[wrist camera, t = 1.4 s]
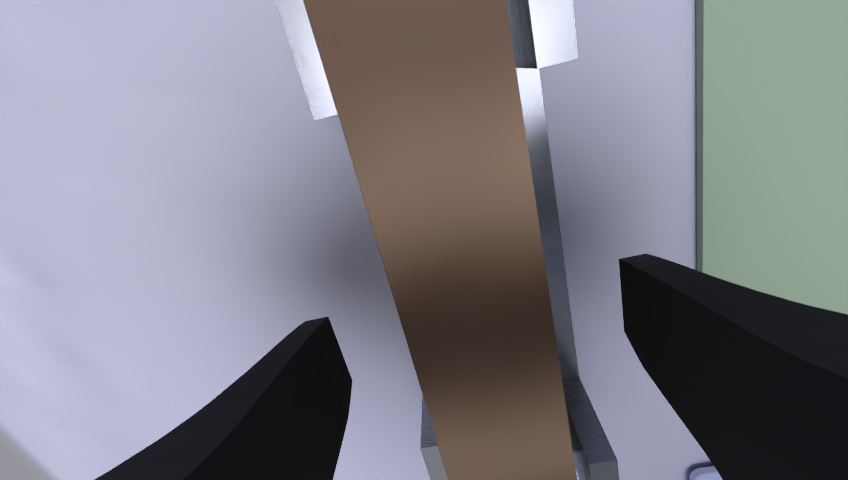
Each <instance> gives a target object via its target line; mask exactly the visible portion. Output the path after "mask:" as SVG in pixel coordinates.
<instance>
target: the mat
mask: <svg viewBox="0 0 848 480" xmlns="http://www.w3.org/2000/svg"><path fill="white" fill-rule="evenodd" d="M696 149H697V271H700V272H702V273H705V274H708V275H711V276H714V277H717V278H720V279H723V280H725V281H728V282H731V283H734V284H737V285H741V286H744V287H747V288H750V289H753V290H756V291H760V292H763V293H767V294H770V295H773V296H777V297H780V298H783V299H787V300H790V301H794V302H798V303H802V304H806V305H809V306H813V307H818V308H822V309H826V310H831V311H835V312H839V313H844V314H848V0H696Z"/></svg>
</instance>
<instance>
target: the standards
mask: <svg viewBox="0 0 848 480" xmlns="http://www.w3.org/2000/svg"><path fill="white" fill-rule="evenodd" d="M275 1H276V4H277V7H278V10H279V13H280V16H281V20H282V23H283V26H284V29H285V32H286V35H287V38H288V41H289V44H290V47H291V50H292V53H293V57H294V60H295V63H296V66H297V69H298V72H299V75H300V78H301V81H302V84H303V87H304V90H305V94H306V97H307V100H308V103H309V106H310V109H311V112H312V115H313V118H314V120H318V119H322V118H326V117H330V116H334V115H338V112H337V109H336V106H335V102H334V99H333V96H332V92H331V89H330V86H329V82H328V79H327V76H326V72H325V69H324V66H323V63H322V59H321V56H320V53H319V49H318V46H317V43H316V39H315V36H314V33H313V29H312V26H311V23H310V20H309V16H308V13H307V10H306V6H305V3H304V0H275ZM506 3H507V10H508V17H509V24H510V30H511V37H512V44H513V51H514V58H515V64H516V71H517V78H518V85H519V91H520V98H521V105H522V112H523V118H524V125H525V132H526V139H527V146H528V152H529V159H530V166H531V173H532V179H533V186H534V193H535V200H536V206H537V213H538V220H539V227H540V234H541V240H542V247H543V254H544V261H545V267H546V274H547V281H548V288H549V294H550V301H551V308H552V315H553V322H554V328H555V335H556V342H557V349H558V355H559V362H560V369H561V376H562V382H563V389H564V396H565V403H566V410H567V416H568V423H569V430H570V437H571V443H572V450H573V457H574V464H575V467H576V470H577V473H578V476H579V479H580V480H619V474H618V464H617V459H616V457H615V454H614V452H613V450H612V448H611V446H610V444H609V441H608V439H607V437H606V435H605V433H604V430H603V428H602V426H601V424H600V422H599V420H598V417H597V415H596V413H595V411H594V409H593V406H592V404H591V402H590V400H589V398H588V396H587V393H586V391H585V389H584V387H583V385H582V382H581V380H580V378H579V375H578V367H577V359H576V351H575V344H574V336H573V328H572V320H571V313H570V305H569V297H568V289H567V282H566V274H565V266H564V259H563V251H562V243H561V235H560V228H559V220H558V212H557V204H556V197H555V189H554V181H553V173H552V166H551V158H550V150H549V143H548V135H547V127H546V119H545V112H544V104H543V96H542V88H541V81H540V73H539V68H542V67H546V66H550V65H554V64H558V63H562V62H566V61H570V60H574V59H578V50H577V40H576V30H575V19H574V9H573V0H506ZM421 451H422V454H423V458H424V461H425V464H426V467H427V470H428V473H429V476H430V479H431V480H449V479H448V476H447V473H446V469H445V466H444V463H443V459H442V456H441V453H440V449H439V446H438V443H437V439H436V436H435V433H434V430H433V426H432V423H431V420H430V416H429V413H428V410H427V406H426V403H425V400H424V396H423V398H422V424H421Z"/></svg>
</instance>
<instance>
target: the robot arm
mask: <svg viewBox="0 0 848 480" xmlns="http://www.w3.org/2000/svg"><path fill="white" fill-rule="evenodd" d="M619 266H620V279H621V293H622V306H623V319H624V332H625V333H626V335H627V337H628V339H629V341H630V343H631V345H632V347H633V349H634V351H635V353H636V354H637V356H638V358H639V360H640V362H641V364H642V365H643V367H644V369H645V370H646V371H647V373H648V374H649V376H650V377H651V378H652V380H653V381H654V383H655V384H656V385H657V387H658V388H659V390H660V391H661V392H662V394H663V395H664V397H665V398H666V399H667V401H668V402H669V404H670V405H671V406H672V408H673V409H674V410H675V412H676V413H677V414H678V416H679V417H680V419H681V420H682V421H683V423H684V424H685V425H686V427H687V428H688V430H689V431H690V432H691V434H692V435H693V436H694V438H695V439H696V441H697V442H698V443H699V445H700V446H701V447H702V449H703V450H704V452H705V453H706V455H707V456H708V458H709V459H710V461H711V462H712V464H713V465H714V466H709V467H702V468H697V469H695V470H693V471H692V472H691V473H690V476H689V480H848V314H844V313H839V312H835V311H831V310H826V309H822V308H818V307H813V306H809V305H806V304H802V303H798V302H794V301H790V300H787V299H783V298H780V297H777V296H773V295H770V294H767V293H763V292H760V291H756V290H753V289H750V288H747V287H744V286H741V285H737V284H734V283H731V282H728V281H725V280H723V279H720V278H717V277H714V276H711V275H708V274H705V273H702V272H700V271H697V270H694V269H691V268H688V267H686V266H683V265H680V264H677V263H674V262H671V261H668V260H665V259H662V258H659V257H656V256H652V255H648V254H643V255H638V256H633V257H628V258H622V259H619ZM351 387H352V379H351V376H350V374H349V371H348V368H347V366H346V363H345V360H344V358H343V355H342V352H341V350H340V347H339V344H338V342H337V339H336V336H335V334H334V331H333V328H332V326H331V323H330V320H329V318H328V317H325V318H320V319H315V320H310V321H305V322H304V323H302V324H301V325H300V326H298V327H297V328H296V329H295V330H293V331H292V332H291V333H290V334H289V335H287V336H286V337H285V338H284V339H283V340H282V341H281V342H280V343H278V344H277V345H276V346H275V347H274V348H273V349H272V350H271V351H270V352H268V353H267V354H266V355H265V356H264V357H263V358H262V359H261V360H259V361H258V362H257V363H256V364H255V365H254V366H253V367H252V368H250V369H249V370H248V371H247V372H246V373H245V374H244V375H242V376H241V377H240V378H239V379H238V380H236V381H235V382H234V383H233V384H232V385H230V386H229V387H228V388H227V389H226V390H224V391H223V392H222V393H221V394H220V395H218V396H217V397H216V398H215V399H214V400H212V401H211V402H210V403H209V404H207V405H206V406H205V407H203V408H202V409H201V410H199V411H198V412H197V413H196V414H194V415H193V416H192V417H190V418H189V419H187V420H186V421H185V422H183V423H182V424H180V425H179V426H178V427H176V428H175V429H173V430H172V431H171V432H169V433H168V434H166V435H165V436H163V437H162V438H160V439H159V440H158V441H156V442H154V443H153V444H151V445H150V446H148V447H146V448H145V449H143V450H142V451H140V452H139V453H137V454H135V455H134V456H132V457H131V458H129V459H128V460H126V461H124V462H123V463H121V464H120V465H118V466H117V467H115V468H113V469H112V470H110V471H109V472H107V473H105V474H104V475H102V476H100V477H98V478H97V479H95V480H333V476H334V472H335V468H336V464H337V461H338V457H339V453H340V449H341V445H342V441H343V437H344V433H345V428H346V424H347V420H348V414H349V406H350V397H351Z"/></svg>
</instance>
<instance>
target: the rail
mask: <svg viewBox="0 0 848 480" xmlns="http://www.w3.org/2000/svg"><path fill="white" fill-rule="evenodd" d="M304 3H305V6H306V10H307V13H308V16H309V20H310V23H311V26H312V29H313V33H314V36H315V39H316V43H317V46H318V49H319V53H320V56H321V59H322V63H323V66H324V69H325V72H326V76H327V79H328V82H329V86H330V89H331V92H332V96H333V99H334V102H335V106H336V109H337V112H338V115H339V119H340V122H341V125H342V129H343V132H344V135H345V139H346V142H347V145H348V149H349V152H350V155H351V158H352V162H353V165H354V168H355V172H356V175H357V178H358V182H359V185H360V188H361V191H362V195H363V198H364V201H365V205H366V208H367V211H368V215H369V218H370V221H371V225H372V228H373V231H374V234H375V238H376V241H377V244H378V248H379V251H380V254H381V258H382V261H383V264H384V268H385V271H386V274H387V277H388V281H389V284H390V287H391V291H392V294H393V297H394V301H395V304H396V307H397V311H398V314H399V317H400V320H401V324H402V327H403V330H404V334H405V337H406V340H407V344H408V347H409V350H410V353H411V357H412V360H413V363H414V367H415V370H416V373H417V377H418V380H419V383H420V387H421V390H422V393H423V396H424V400H425V403H426V406H427V410H428V413H429V416H430V420H431V423H432V426H433V430H434V433H435V436H436V439H437V443H438V446H439V449H440V453H441V456H442V459H443V463H444V466H445V469H446V473H447V476H448V479H449V480H577V477H576V471H575V464H574V457H573V450H572V443H571V437H570V430H569V423H568V416H567V410H566V403H565V396H564V389H563V382H562V376H561V369H560V362H559V355H558V349H557V342H556V335H555V328H554V322H553V315H552V308H551V301H550V294H549V288H548V281H547V274H546V267H545V261H544V254H543V247H542V240H541V234H540V227H539V220H538V213H537V206H536V200H535V193H534V186H533V179H532V173H531V166H530V159H529V152H528V146H527V139H526V132H525V125H524V118H523V112H522V105H521V98H520V91H519V85H518V78H517V71H516V64H515V58H514V51H513V44H512V37H511V30H510V24H509V17H508V10H507V3H506V0H304Z"/></svg>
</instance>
